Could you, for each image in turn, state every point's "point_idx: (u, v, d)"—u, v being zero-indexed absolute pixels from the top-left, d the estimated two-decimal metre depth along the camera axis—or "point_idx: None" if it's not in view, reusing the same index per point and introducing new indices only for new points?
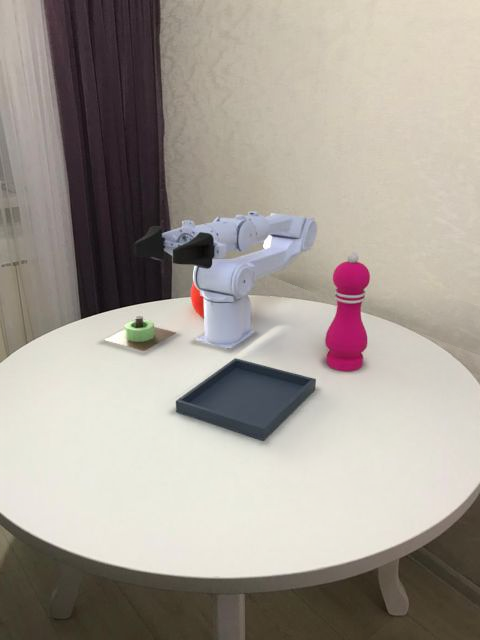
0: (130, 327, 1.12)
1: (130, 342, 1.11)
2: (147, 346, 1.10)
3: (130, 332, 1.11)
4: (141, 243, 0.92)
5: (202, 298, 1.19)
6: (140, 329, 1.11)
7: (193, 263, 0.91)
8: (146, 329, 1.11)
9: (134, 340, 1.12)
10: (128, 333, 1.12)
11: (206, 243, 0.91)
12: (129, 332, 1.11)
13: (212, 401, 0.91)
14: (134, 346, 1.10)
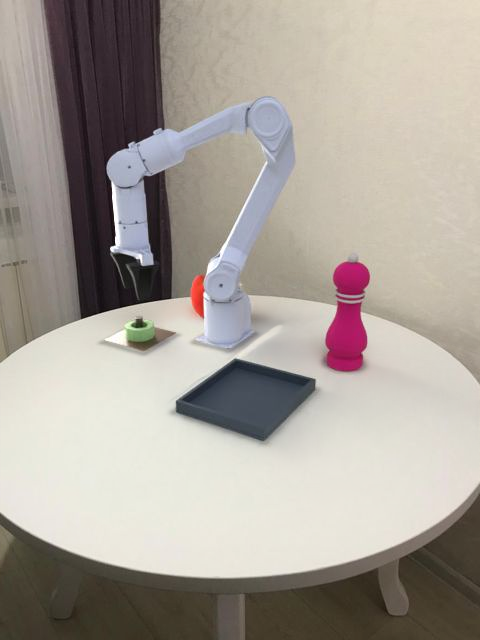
0: (130, 327, 1.12)
1: (130, 342, 1.11)
2: (147, 346, 1.10)
3: (130, 332, 1.11)
4: (125, 282, 1.12)
5: (202, 298, 1.19)
6: (140, 329, 1.11)
7: (152, 281, 1.06)
8: (146, 329, 1.11)
9: (134, 340, 1.12)
10: (128, 333, 1.12)
11: (137, 272, 1.03)
12: (129, 332, 1.11)
13: (212, 401, 0.91)
14: (134, 346, 1.10)
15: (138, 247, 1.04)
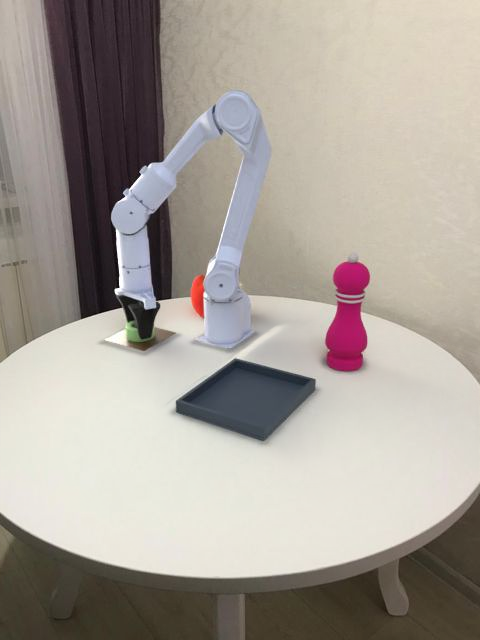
0: (130, 327, 1.12)
1: (130, 342, 1.11)
2: (147, 346, 1.10)
3: (130, 332, 1.11)
4: None
5: (202, 298, 1.19)
6: None
7: (153, 320, 1.10)
8: None
9: (134, 340, 1.12)
10: (128, 333, 1.12)
11: (139, 314, 1.07)
12: (129, 332, 1.11)
13: (212, 401, 0.91)
14: (134, 346, 1.10)
15: (141, 290, 1.08)
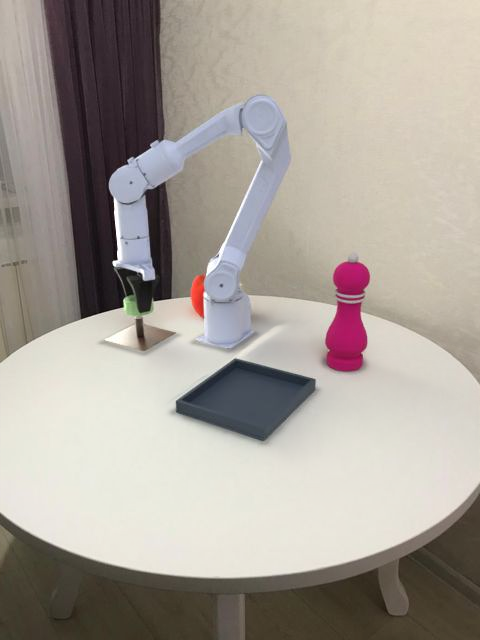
0: (129, 301, 1.09)
1: (130, 342, 1.11)
2: (147, 346, 1.10)
3: (128, 306, 1.09)
4: None
5: (202, 298, 1.19)
6: None
7: (152, 293, 1.07)
8: None
9: (133, 314, 1.09)
10: (126, 307, 1.09)
11: (138, 286, 1.04)
12: (128, 306, 1.09)
13: (212, 401, 0.91)
14: (134, 346, 1.10)
15: (140, 262, 1.05)
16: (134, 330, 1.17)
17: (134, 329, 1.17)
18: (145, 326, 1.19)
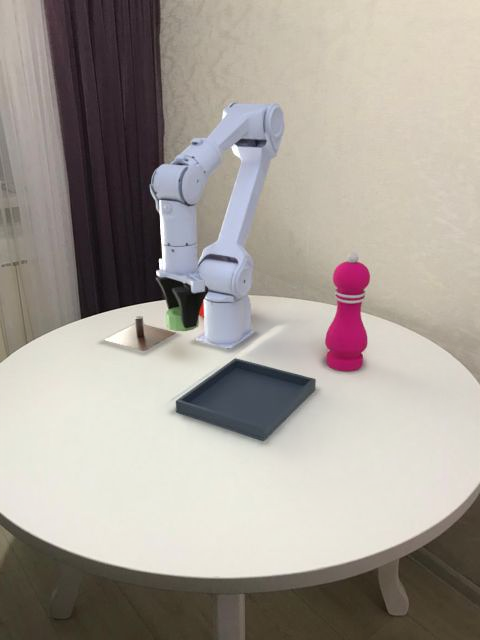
0: (172, 314, 0.98)
1: (130, 342, 1.11)
2: (147, 346, 1.10)
3: (172, 320, 0.98)
4: None
5: None
6: None
7: (200, 307, 0.96)
8: None
9: (177, 329, 0.98)
10: (169, 321, 0.98)
11: (185, 298, 0.93)
12: (171, 320, 0.98)
13: (212, 401, 0.91)
14: (134, 346, 1.10)
15: (187, 271, 0.94)
16: (134, 330, 1.17)
17: (134, 329, 1.17)
18: (145, 326, 1.19)
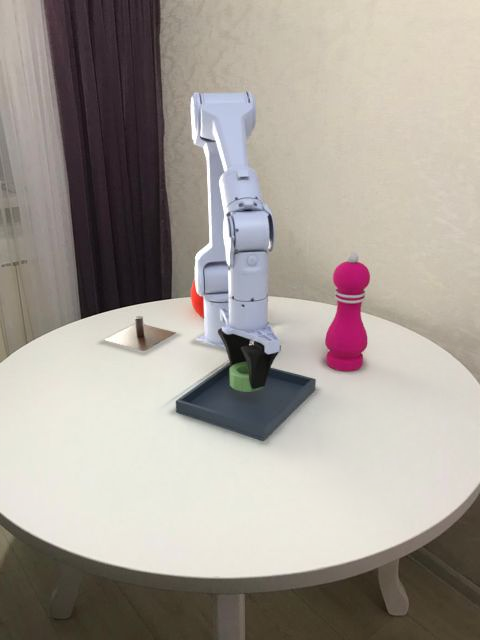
0: (237, 373, 0.89)
1: (130, 342, 1.11)
2: (147, 346, 1.10)
3: (237, 380, 0.88)
4: None
5: (202, 298, 1.19)
6: None
7: (270, 366, 0.86)
8: None
9: (242, 390, 0.88)
10: (234, 381, 0.88)
11: (256, 359, 0.84)
12: (236, 380, 0.88)
13: (212, 401, 0.91)
14: (134, 346, 1.10)
15: (258, 328, 0.84)
16: (134, 330, 1.17)
17: (134, 329, 1.17)
18: (145, 326, 1.19)
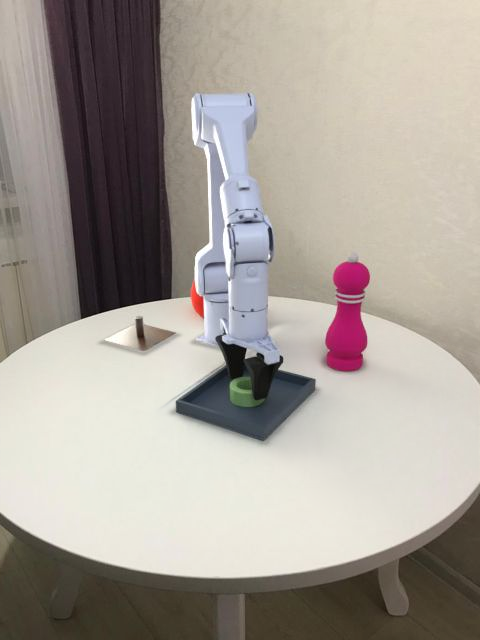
0: (237, 389, 0.90)
1: (130, 342, 1.11)
2: (147, 346, 1.10)
3: (237, 395, 0.89)
4: (231, 372, 0.93)
5: (202, 298, 1.19)
6: (251, 392, 0.89)
7: (272, 377, 0.87)
8: None
9: (242, 405, 0.89)
10: (234, 396, 0.90)
11: (259, 371, 0.84)
12: (236, 395, 0.89)
13: (212, 401, 0.91)
14: (134, 346, 1.10)
15: (258, 338, 0.85)
16: (134, 330, 1.17)
17: (134, 329, 1.17)
18: (145, 326, 1.19)
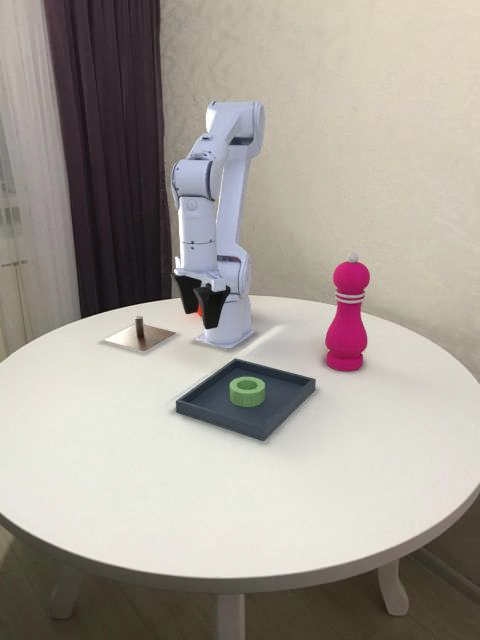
0: (237, 389, 0.90)
1: (130, 342, 1.11)
2: (147, 346, 1.10)
3: (237, 395, 0.89)
4: (186, 307, 1.00)
5: None
6: (251, 392, 0.89)
7: (221, 307, 0.93)
8: (258, 391, 0.89)
9: (242, 405, 0.89)
10: (234, 396, 0.90)
11: (207, 299, 0.90)
12: (236, 395, 0.89)
13: (212, 401, 0.91)
14: (134, 346, 1.10)
15: (207, 270, 0.92)
16: (134, 330, 1.17)
17: (134, 329, 1.17)
18: (145, 326, 1.19)
